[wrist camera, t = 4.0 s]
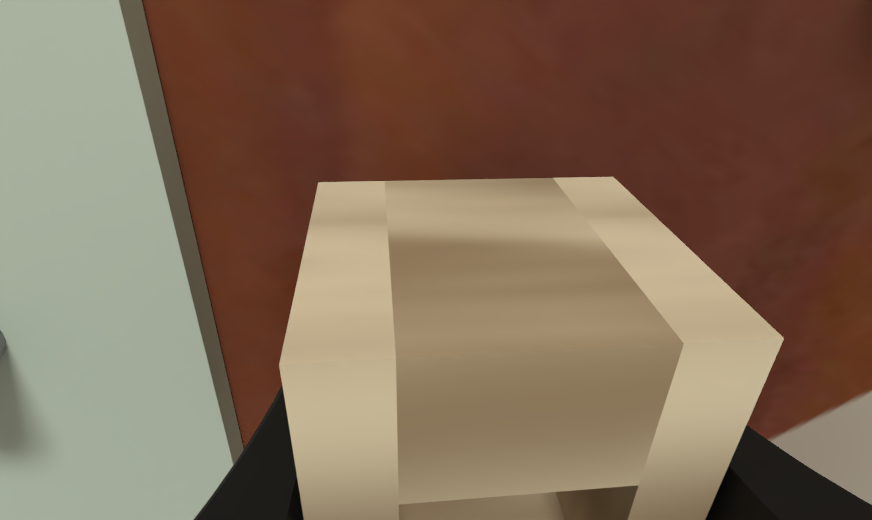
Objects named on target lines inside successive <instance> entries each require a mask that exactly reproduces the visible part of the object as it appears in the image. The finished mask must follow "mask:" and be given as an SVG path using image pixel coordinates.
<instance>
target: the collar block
mask: <svg viewBox="0 0 872 520" xmlns="http://www.w3.org/2000/svg"><path fill="white" fill-rule="evenodd" d="M783 339H784V338H783V337H782V336H781V335H780V334H779V333H778V332H777V331H776V330H775V329H774V328H772V327H771V326H770V325H769V324H768V323H767V322H766V321H765V320H764V319H763V318H762V317H761V316H760V315H759V314H758V313H757V312H756V311H754V310H753V309H752V308H751V307H750V306H749V305H748V304H747V303H746V302H745V301H744V300H743V299H742V298H741V297H740V296H739V295H738V294H737V293H735V292H734V291H733V290H732V289H731V288H730V287H729V286H728V285H727V284H726V283H725V282H724V281H723V280H722V279H721V278H720V277H719V276H717V275H716V274H715V273H714V272H713V271H712V270H711V269H710V268H709V267H708V266H707V265H706V264H705V263H704V262H703V261H702V260H701V259H699V258H698V257H697V256H696V255H695V254H694V253H693V252H692V251H691V250H690V249H689V248H688V247H687V246H686V245H685V244H684V243H683V242H681V241H680V240H679V239H678V238H677V237H676V236H675V235H674V234H673V233H672V232H671V231H670V230H669V229H668V228H667V227H666V226H665V225H664V224H662V223H661V222H660V221H659V220H658V219H657V218H656V217H655V216H654V215H653V214H652V213H651V212H650V211H649V210H648V209H647V208H646V207H644V206H643V205H642V204H641V203H640V202H639V201H638V200H637V199H636V198H635V197H634V196H633V195H632V194H631V193H630V192H629V191H628V190H626V189H625V188H624V187H623V186H622V185H621V184H620V183H619V182H618V181H617V180H616V179H615V178H614V177H578V178H525V179H471V180H417V181H363V182H318V187H317V192H316V196H315V201H314V205H313V210H312V215H311V219H310V224H309V229H308V233H307V238H306V243H305V247H304V252H303V257H302V261H301V266H300V270H299V275H298V280H297V284H296V289H295V294H294V298H293V303H292V308H291V312H290V317H289V322H288V326H287V331H286V335H285V340H284V345H283V349H282V354H281V359H280V363H279V367H280V373H281V380H282V386H283V392H284V398H285V405H286V411H287V417H288V423H289V430H290V436H291V442H292V448H293V455H294V461H295V467H296V473H297V480H298V486H299V492H300V499H301V505H302V511H303V517H304V520H705V519H706V517H707V514H708V512H709V510H710V507H711V505H712V503H713V501H714V498H715V496H716V494H717V491H718V489H719V487H720V484H721V482H722V480H723V477H724V475H725V473H726V471H727V468H728V466H729V464H730V461H731V459H732V457H733V454H734V452H735V450H736V448H737V445H738V443H739V441H740V438H741V436H742V434H743V431H744V429H745V427H746V425H747V422H748V420H749V418H750V415H751V413H752V411H753V408H754V406H755V404H756V402H757V399H758V397H759V395H760V392H761V390H762V388H763V385H764V383H765V381H766V379H767V376H768V374H769V372H770V369H771V367H772V365H773V362H774V360H775V358H776V356H777V353H778V351H779V349H780V346H781V344H782V342H783Z"/></svg>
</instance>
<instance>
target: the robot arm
mask: <svg viewBox="0 0 872 520" xmlns="http://www.w3.org/2000/svg"><path fill="white" fill-rule="evenodd" d="M194 520H304V517H303V511H302V505H301V499H300V492H299V486H298V480H297V473H296V467H295V461H294V455H293V448H292V442H291V436H290V430H289V423H288V417H287V411H286V405H285V398H284V392H283V386H281V388H280V390H279V392H278V394H277V396H276V398H275V399H274V401H273V403H272V405H271V406H270V408H269V410H268V412H267V413H266V415H265V417H264V418H263V420H262V422H261V423H260V425H259V427H258V428H257V430H256V431H255V433H254V434H253V436H252V438H251V439H250V441H249V442H248V444H247V446H246V447H245V449H244V450H243V452H242V453H241V455H240V456H239V458H238V459H237V461H236V462H235V464H234V465H233V466H232V468H231V469H230V471H229V472H228V474H227V475H226V476H225V478H224V479H223V481H222V482H221V483H220V485H219V486H218V488H217V489H216V490H215V492H214V493H213V495H212V496H211V497H210V499H209V500H208V501H207V503H206V504H205V505H204V507H203V508H202V509H201V511H200V512H199V513H198V515H197V516H196V517H195V518H194ZM705 520H872V505H870V504H869V503H867V502H865V501H863V500H862V499H860V498H858V497H857V496H855V495H853V494H852V493H850V492H848V491H847V490H845V489H843V488H842V487H840V486H838V485H837V484H835V483H833V482H832V481H830V480H828V479H827V478H825V477H823V476H821V475H820V474H818V473H817V472H815V471H814V470H812V469H810V468H809V467H807V466H806V465H804V464H803V463H801V462H799V461H798V460H796V459H795V458H793V457H792V456H790V455H789V454H788V453H786V452H784V451H783V450H782V449H780V448H779V447H777V446H776V445H774V444H773V443H771V442H770V441H768V440H767V439H766V438H764V437H763V436H761V435H760V434H758V433H757V432H755V431H754V430H753V429H751V428H750V427H749V426H747V425H746V427H745V429H744V431H743V434H742V436H741V438H740V441H739V443H738V445H737V448H736V450H735V452H734V454H733V457H732V459H731V461H730V464H729V466H728V468H727V471H726V473H725V475H724V477H723V480H722V482H721V484H720V487H719V489H718V491H717V494H716V496H715V498H714V501H713V503H712V505H711V507H710V510H709V512H708V514H707V517H706V519H705Z"/></svg>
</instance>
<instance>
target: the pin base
mask: <svg viewBox="0 0 872 520" xmlns="http://www.w3.org/2000/svg"><path fill="white" fill-rule="evenodd" d="M243 450H244V448H243V444H242V439H241V435H240V430H239V426H238V422H237V417H236V413H235V408H234V404H233V400H232V395H231V391H230V386H229V382H228V378H227V373H226V369H225V364H224V360H223V356H222V351H221V347H220V343H219V338H218V334H217V329H216V325H215V321H214V316H213V312H212V307H211V303H210V299H209V294H208V290H207V285H206V281H205V277H204V272H203V268H202V263H201V259H200V255H199V250H198V246H197V241H196V237H195V233H194V228H193V224H192V219H191V215H190V211H189V206H188V202H187V197H186V193H185V189H184V184H183V180H182V175H181V171H180V167H179V162H178V158H177V153H176V149H175V145H174V140H173V136H172V131H171V127H170V123H169V118H168V114H167V109H166V105H165V101H164V96H163V92H162V87H161V83H160V79H159V74H158V70H157V65H156V61H155V57H154V52H153V48H152V43H151V39H150V35H149V30H148V26H147V22H146V17H145V13H144V8H143V4H142V0H0V520H194V518H195V517H196V516H197V515H198V513H199V512H200V511H201V509H202V508H203V507H204V505H205V504H206V503H207V501H208V500H209V499H210V497H211V496H212V495H213V493H214V492H215V490H216V489H217V488H218V486H219V485H220V483H221V482H222V481H223V479H224V478H225V476H226V475H227V474H228V472H229V471H230V469H231V468H232V466H233V465H234V464H235V462H236V461H237V459H238V458H239V456H240V455H241V453H242V452H243Z"/></svg>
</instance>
